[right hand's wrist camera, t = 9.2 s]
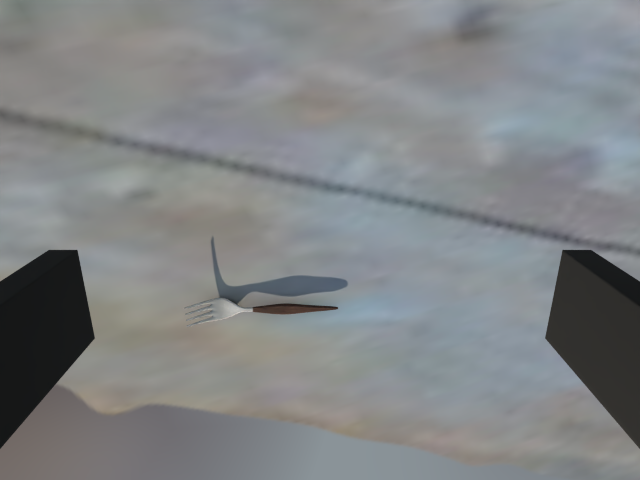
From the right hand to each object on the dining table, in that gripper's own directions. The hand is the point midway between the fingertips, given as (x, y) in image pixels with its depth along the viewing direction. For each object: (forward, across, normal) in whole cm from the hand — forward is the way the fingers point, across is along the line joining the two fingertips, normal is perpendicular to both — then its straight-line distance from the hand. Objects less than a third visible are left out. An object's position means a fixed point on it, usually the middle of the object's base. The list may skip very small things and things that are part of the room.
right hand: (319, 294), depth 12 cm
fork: (+32, +6, +18) cm, 38 cm away
